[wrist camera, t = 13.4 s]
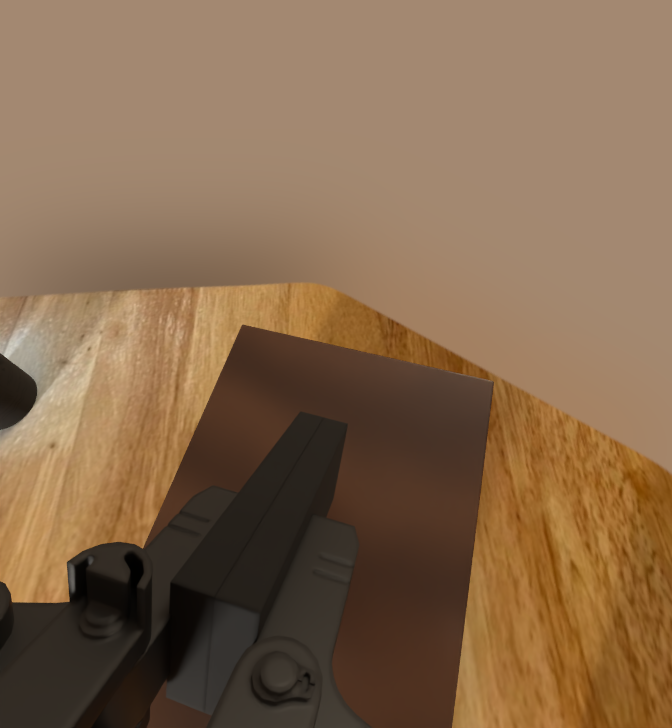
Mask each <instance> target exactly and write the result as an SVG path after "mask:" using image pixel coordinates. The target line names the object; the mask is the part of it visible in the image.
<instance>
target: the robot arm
mask: <svg viewBox="0 0 672 728" xmlns="http://www.w3.org/2000/svg"><path fill="white" fill-rule="evenodd" d="M347 427H348V423H344V422H340V421H336V420H332V419H328V418H325V417H321V416H317V415H313V414H309V413H305V412H301V411H300V412H299V414H298V415H297V416H296V418H295V419H294V420H293V422H292V423H291V424H290V426H289V427H288V428H287V430H286V431H285V432H284V433H283V435H282V436H281V437H280V439H279V440H278V441H277V443H276V444H275V445H274V447H273V448H272V449H271V451H270V452H269V453H268V454H267V456H266V457H265V458H264V460H263V461H262V462H261V464H260V465H259V466H258V468H257V469H256V470H255V472H254V473H253V474H252V475H251V477H250V478H249V479H248V481H247V482H246V483H245V485H244V486H243V487H242V489H241V490H240V491H239V493H238V492H234V491H231V490H228V489H224V488H221V487H218V486H214V485H213V486H211V487H209V488H207V489H205V490H203V491H201V492H199V493H197V494H196V495H194V496H193V497H192V498H191V499H190V500H189V501H188V502H187V503H186V504H185V505H184V507H183V508H182V509H181V510H180V512H179V514H176V515H175V516H174V517H173V518H172V520H171V521H170V522H169V523H168V525H167V527H166V526H165V527H164V528H163V529H162V530H161V531H160V533H159V534H158V535H157V536H156V537H155V538H154V539H153V540H152V541H151V542H150V543H149V544H148V546H147V547H146V548H145V549H142V548H140V547H139V546H137V545H135V544H129V543H123V542H115V543H107V544H100V545H98V546H95V547H92V548H90V549H87V550H85V551H82V552H81V553H79V554H78V555H77V556H75V557H74V558H72V559H71V560H69V561H68V562H67V570H68V584H69V597H70V602H63V603H13V602H12V600H11V593H10V592H9V590H8V588H7V586H6V584H5V583H3V582H0V728H147V726H148V723H149V721H150V705H151V703H152V702H153V700H154V699H155V697H156V695H157V694H158V692H159V690H160V689H161V687H162V685H163V684H164V682H165V680H166V679H167V687H166V698H169V699H171V700H174V701H176V702H179V703H181V704H184V705H186V706H189V707H191V708H193V709H196V710H198V711H201V712H203V713H206V714H208V715H211V718H210V720H209V722H208V725H207V727H206V728H372V727H371V726H370V725H369V724H367V723H366V722H365V721H364V720H363V719H361V718H360V717H359V716H358V715H357V714H356V713H355V712H354V711H353V710H352V709H351V708H350V707H349V706H348V705H347V703H346V702H345V700H344V699H343V697H342V695H341V694H340V692H339V690H338V688H337V685H336V682H335V679H334V675H333V667H332V658H333V654H334V650H335V646H336V641H337V637H338V633H339V629H340V625H341V621H342V617H343V613H344V609H345V605H346V601H347V597H348V592H349V588H350V584H351V580H352V575H353V571H354V567H355V562H356V558H357V554H358V549H359V541H358V537H357V533H356V529H355V526H353V525H349V524H346V523H343V522H339V521H336V520H333V519H329V518H326V517H327V514H328V512H329V509H330V507H331V504H332V501H333V499H334V494H335V489H336V483H337V478H338V473H339V468H340V463H341V458H342V453H343V448H344V443H345V437H346V432H347Z"/></svg>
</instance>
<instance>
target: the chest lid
mask: <svg viewBox="0 0 672 728" xmlns="http://www.w3.org/2000/svg"><path fill="white" fill-rule="evenodd" d="M493 385H494V382H493V381H490V380H486V379H481V378H477V377H472V376H468V375H463V374H459V373H455V372H450V371H446V370H441V369H437V368H432V367H428V366H424V365H419V364H415V363H410V362H406V361H401V360H397V359H393V358H388V357H384V356H379V355H375V354H370V353H366V352H361V351H357V350H353V349H348V348H344V347H339V346H335V345H330V344H326V343H322V342H317V341H313V340H308V339H304V338H299V337H295V336H291V335H286V334H282V333H277V332H273V331H268V330H264V329H260V328H255V327H251V326H246V325H242V326H241V329H240V331H239V333H238V335H237V338H236V340H235V342H234V344H233V347H232V349H231V351H230V353H229V356H228V358H227V360H226V363H225V365H224V367H223V369H222V372H221V374H220V376H219V378H218V381H217V383H216V385H215V387H214V390H213V392H212V394H211V396H210V399H209V401H208V403H207V405H206V408H205V410H204V412H203V414H202V417H201V419H200V421H199V423H198V426H197V428H196V430H195V432H194V435H193V437H192V439H191V441H190V444H189V446H188V448H187V451H186V453H185V455H184V457H183V460H182V462H181V464H180V466H179V469H178V471H177V473H176V475H175V478H174V480H173V482H172V484H171V487H170V489H169V491H168V493H167V496H166V498H165V500H164V502H163V505H162V507H161V509H160V511H159V514H158V516H157V518H156V520H155V523H154V525H153V527H152V529H151V532H150V534H149V536H148V538H147V541H146V543H145V545H144V548H143V549H145V548H146V547H147V546H148V544H149V543H150V542H151V541H152V540H153V539H154V538H155V537H156V536H157V535H158V534H159V533H160V531H161V530H162V529H163V528H164V527H165V526H166V527H167V525H168V523H169V522H170V521H171V520H172V518H173V517H174V516H175V515H176V514H179V512H180V510H181V509H182V508H183V507H184V505H185V504H186V503H187V502H188V501H189V500H190V499H191V498H192V497H193V496H194V495H196V494H197V493H199V492H201V491H203V490H205V489H207V488H209V487H211V486H213V485H214V486H218V487H221V488H224V489H228V490H231V491H234V492H238V493H239V491H240V490H241V489H242V487H243V486H244V485H245V483H246V482H247V481H248V479H249V478H250V477H251V475H252V474H253V473H254V472H255V470H256V469H257V468H258V466H259V465H260V464H261V462H262V461H263V460H264V458H265V457H266V456H267V454H268V453H269V452H270V451H271V449H272V448H273V447H274V445H275V444H276V443H277V441H278V440H279V439H280V437H281V436H282V435H283V433H284V432H285V431H286V430H287V428H288V427H289V426H290V424H291V423H292V422H293V420H294V419H295V418H296V416H297V415H298V414H299V412H300V411H301V412H305V413H309V414H313V415H317V416H321V417H325V418H328V419H332V420H336V421H340V422H344V423H348V427H347V432H346V437H345V443H344V448H343V453H342V458H341V463H340V468H339V473H338V478H337V483H336V489H335V494H334V499H333V501H332V504H331V507H330V509H329V512H328V514H327V517H326V518H329V519H333V520H336V521H339V522H343V523H346V524H349V525H353V526H355V529H356V533H357V537H358V541H359V549H358V554H357V558H356V562H355V567H354V571H353V575H352V580H351V584H350V588H349V592H348V597H347V601H346V605H345V609H344V613H343V617H342V621H341V625H340V629H339V633H338V637H337V641H336V646H335V650H334V654H333V658H332V667H333V675H334V679H335V682H336V685H337V688H338V690H339V692H340V694H341V695H342V697H343V699H344V700H345V702H346V703H347V705H348V706H349V707H350V708H351V709H352V710H353V711H354V712H355V713H356V714H357V715H358V716H359V717H360V718H361V719H363V720H364V721H365V722H366V723H367V724H369V725H370V726H371V727H372V728H452V722H453V713H454V705H455V697H456V689H457V680H458V672H459V664H460V656H461V648H462V639H463V631H464V623H465V615H466V607H467V598H468V590H469V582H470V574H471V565H472V557H473V549H474V541H475V533H476V524H477V516H478V508H479V500H480V491H481V483H482V475H483V467H484V459H485V450H486V442H487V434H488V426H489V417H490V409H491V401H492V393H493ZM166 687H167V679H166V680H165V682H164V684H163V685H162V687H161V689H160V690H159V692H158V694H157V695H156V697H155V699H154V700H153V702H152V703H151V705H150V721H149V723H148V726H147V728H206V727H207V725H208V722H209V720H210V718H211V715H208V714H206V713H203V712H201V711H198V710H196V709H193V708H191V707H189V706H186V705H184V704H181V703H179V702H176V701H174V700H171V699H169V698H166Z"/></svg>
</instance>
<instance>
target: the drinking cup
mask: <svg viewBox="0 0 672 728" xmlns="http://www.w3.org/2000/svg"><path fill="white" fill-rule="evenodd" d="M36 396H37V387H36V384H35V381H34V380H33V379H32V378H31V377H30V376H29V375H28V374H26V373H25V372H24V371H23V370H21V369H20V368H19V367H17V366H16V365H15V364H13V363H12V362H11V361H10V360H8V359H7V358H6V357H4V356H3V355H2V354H0V430H1V429H5V428H8V427H10V426H12V425H14V424H16V423H17V422H19V421H20V420H21V419H22V418H23V417H24V416H25V415H26V414H27V413H28V412H29V411H30V409H31V408H32V406H33V404H34V402H35V399H36Z"/></svg>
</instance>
